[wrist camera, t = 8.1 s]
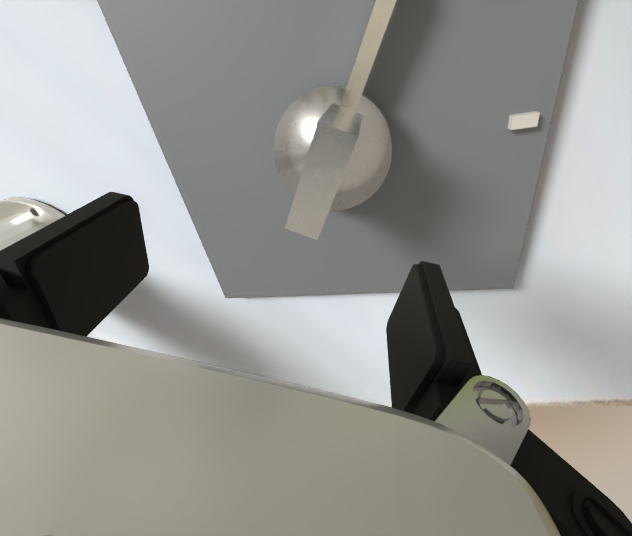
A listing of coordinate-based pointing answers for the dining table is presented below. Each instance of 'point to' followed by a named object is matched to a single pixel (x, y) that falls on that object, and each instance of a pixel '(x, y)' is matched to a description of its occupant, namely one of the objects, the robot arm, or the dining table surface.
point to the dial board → (400, 112)
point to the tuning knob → (335, 140)
